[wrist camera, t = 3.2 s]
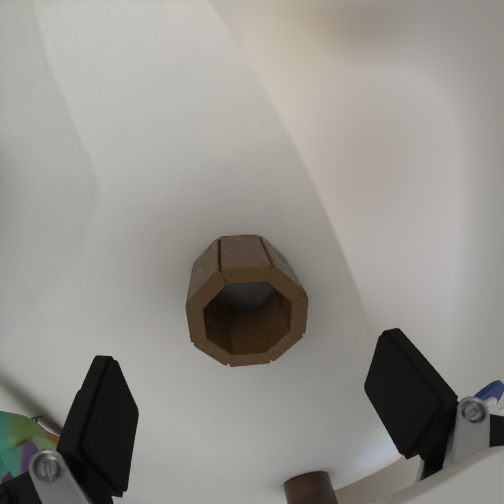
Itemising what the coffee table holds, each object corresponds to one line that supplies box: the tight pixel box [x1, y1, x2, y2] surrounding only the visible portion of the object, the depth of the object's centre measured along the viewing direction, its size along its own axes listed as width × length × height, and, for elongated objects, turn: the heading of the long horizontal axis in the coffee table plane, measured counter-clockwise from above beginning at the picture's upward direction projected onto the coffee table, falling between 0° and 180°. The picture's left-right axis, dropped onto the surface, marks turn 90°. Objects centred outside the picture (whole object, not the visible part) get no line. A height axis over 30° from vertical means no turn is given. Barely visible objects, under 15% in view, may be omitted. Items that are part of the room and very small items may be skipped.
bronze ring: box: [185, 235, 308, 367], centre depth 15 cm, size 6×6×4 cm
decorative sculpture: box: [0, 411, 60, 483], centre depth 13 cm, size 17×18×15 cm
